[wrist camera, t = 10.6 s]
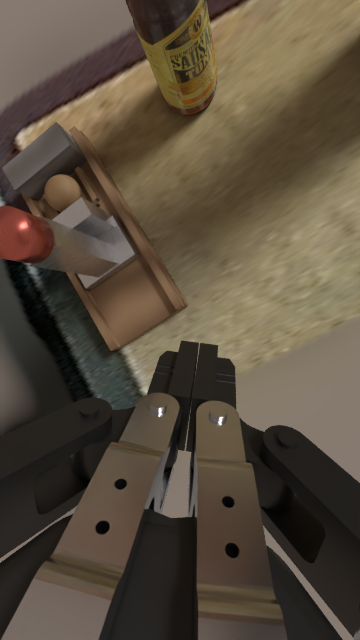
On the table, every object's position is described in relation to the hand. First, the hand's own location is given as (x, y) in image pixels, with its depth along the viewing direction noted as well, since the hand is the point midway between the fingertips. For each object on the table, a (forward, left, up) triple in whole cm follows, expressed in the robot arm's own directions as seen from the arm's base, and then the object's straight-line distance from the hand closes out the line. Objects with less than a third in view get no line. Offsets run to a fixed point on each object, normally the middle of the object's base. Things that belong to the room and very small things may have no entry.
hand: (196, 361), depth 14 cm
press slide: (+1, -17, -23) cm, 29 cm away
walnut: (-2, -24, -24) cm, 34 cm away
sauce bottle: (-19, -19, -25) cm, 37 cm away
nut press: (+1, -19, -25) cm, 31 cm away
